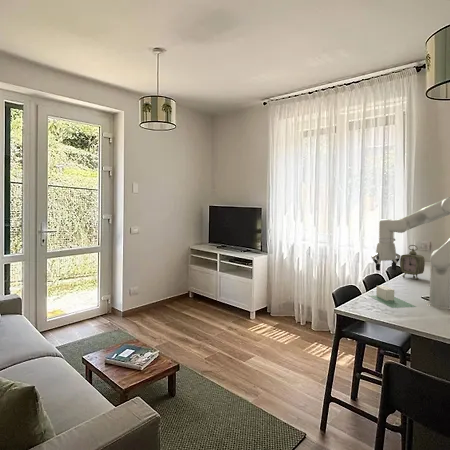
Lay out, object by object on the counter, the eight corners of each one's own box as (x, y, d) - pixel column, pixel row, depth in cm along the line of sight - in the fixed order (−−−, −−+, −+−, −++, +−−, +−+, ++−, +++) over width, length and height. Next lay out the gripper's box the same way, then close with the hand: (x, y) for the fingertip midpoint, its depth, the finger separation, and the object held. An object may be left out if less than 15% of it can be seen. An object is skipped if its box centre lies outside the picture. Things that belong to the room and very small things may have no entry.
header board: (390, 296, 208) (390, 289, 208) (416, 308, 184) (416, 300, 184) (368, 297, 206) (368, 289, 206) (391, 310, 183) (392, 301, 182)
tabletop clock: (399, 277, 262) (400, 244, 260) (407, 275, 266) (408, 243, 265) (418, 280, 249) (419, 246, 248) (425, 279, 254) (426, 245, 252)
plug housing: (384, 295, 206) (384, 285, 206) (394, 300, 196) (394, 289, 196) (376, 295, 206) (376, 285, 205) (385, 300, 196) (386, 290, 195)
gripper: (396, 239, 204) (396, 268, 205) (368, 240, 202) (368, 269, 203) (404, 241, 196) (404, 270, 197) (375, 241, 194) (375, 272, 195)
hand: (385, 270), depth 200 cm, fingers open, 9 cm apart
